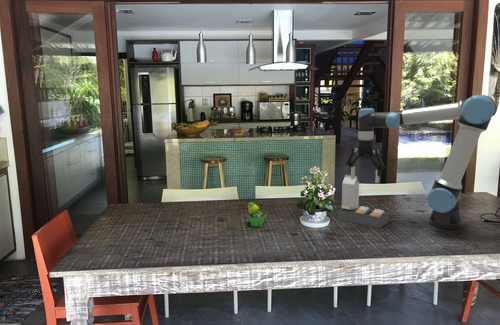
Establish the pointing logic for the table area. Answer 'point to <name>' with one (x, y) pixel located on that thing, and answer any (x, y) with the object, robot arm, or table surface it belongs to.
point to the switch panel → (362, 218)
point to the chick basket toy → (256, 215)
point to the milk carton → (350, 192)
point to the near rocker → (377, 213)
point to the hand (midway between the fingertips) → (364, 180)
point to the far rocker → (348, 207)
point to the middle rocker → (362, 210)
